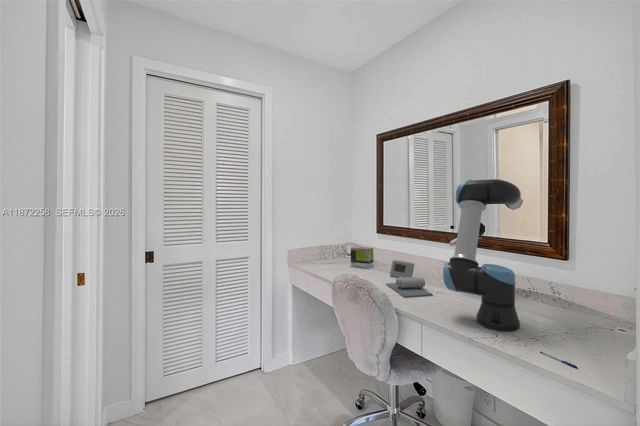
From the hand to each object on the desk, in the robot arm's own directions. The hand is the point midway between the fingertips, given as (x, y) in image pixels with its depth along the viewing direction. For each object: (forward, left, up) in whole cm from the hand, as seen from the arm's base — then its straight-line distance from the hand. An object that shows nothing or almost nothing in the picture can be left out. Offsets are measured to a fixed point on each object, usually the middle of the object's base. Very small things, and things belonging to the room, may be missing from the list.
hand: (450, 244), depth 166 cm
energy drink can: (+5, +13, -22) cm, 26 cm away
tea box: (+68, +29, -26) cm, 79 cm away
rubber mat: (+5, +23, -26) cm, 35 cm away
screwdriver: (-73, +11, -26) cm, 78 cm away
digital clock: (+30, +15, -26) cm, 43 cm away
